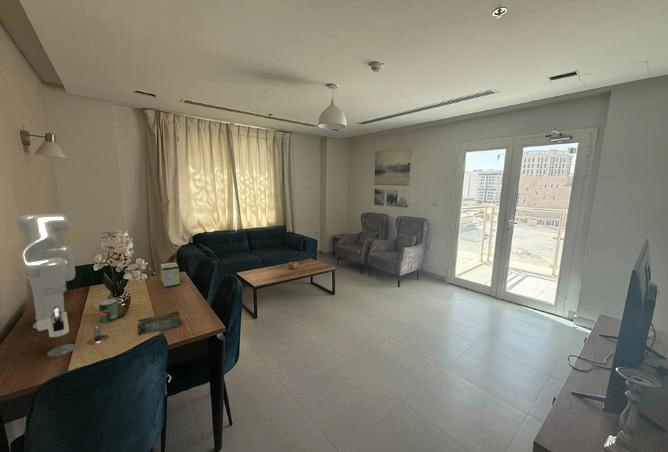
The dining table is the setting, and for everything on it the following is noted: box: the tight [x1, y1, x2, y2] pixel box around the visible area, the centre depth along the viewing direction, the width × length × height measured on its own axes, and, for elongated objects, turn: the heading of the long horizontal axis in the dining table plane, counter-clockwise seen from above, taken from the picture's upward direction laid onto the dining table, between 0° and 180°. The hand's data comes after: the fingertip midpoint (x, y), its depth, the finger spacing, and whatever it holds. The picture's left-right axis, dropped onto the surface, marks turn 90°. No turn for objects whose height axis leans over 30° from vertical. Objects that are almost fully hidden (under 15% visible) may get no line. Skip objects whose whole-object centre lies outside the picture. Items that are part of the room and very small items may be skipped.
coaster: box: [47, 343, 76, 358], centre depth 122 cm, size 9×9×1 cm
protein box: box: [159, 261, 181, 289], centre depth 208 cm, size 10×16×16 cm
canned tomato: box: [98, 298, 119, 324], centre depth 151 cm, size 8×8×11 cm
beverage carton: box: [136, 310, 181, 336], centre depth 144 cm, size 8×19×7 cm, turn 126°
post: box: [86, 325, 110, 346], centre depth 131 cm, size 8×8×7 cm
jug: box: [36, 311, 70, 338], centre depth 119 cm, size 6×9×9 cm, turn 127°
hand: (59, 326), depth 121 cm, fingers closed on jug, 6 cm apart
